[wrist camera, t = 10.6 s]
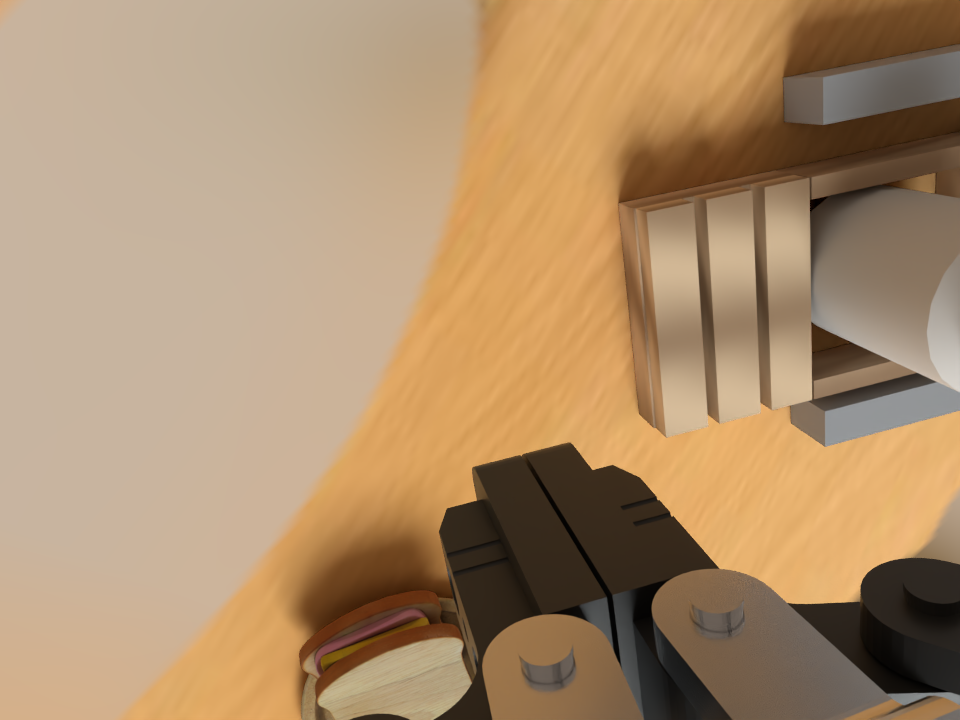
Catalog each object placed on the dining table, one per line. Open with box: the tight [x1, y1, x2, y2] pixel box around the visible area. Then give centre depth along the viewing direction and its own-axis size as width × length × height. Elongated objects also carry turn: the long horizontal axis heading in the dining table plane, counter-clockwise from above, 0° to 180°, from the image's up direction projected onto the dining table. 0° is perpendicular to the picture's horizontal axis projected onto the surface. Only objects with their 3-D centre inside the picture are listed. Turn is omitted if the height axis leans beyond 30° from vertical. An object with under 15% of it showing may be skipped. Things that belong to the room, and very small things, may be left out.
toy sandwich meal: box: [299, 590, 475, 720], centre depth 41 cm, size 12×14×5 cm
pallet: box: [618, 132, 960, 438], centre depth 39 cm, size 11×18×3 cm, turn 99°
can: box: [810, 185, 960, 392], centre depth 35 cm, size 8×8×12 cm
